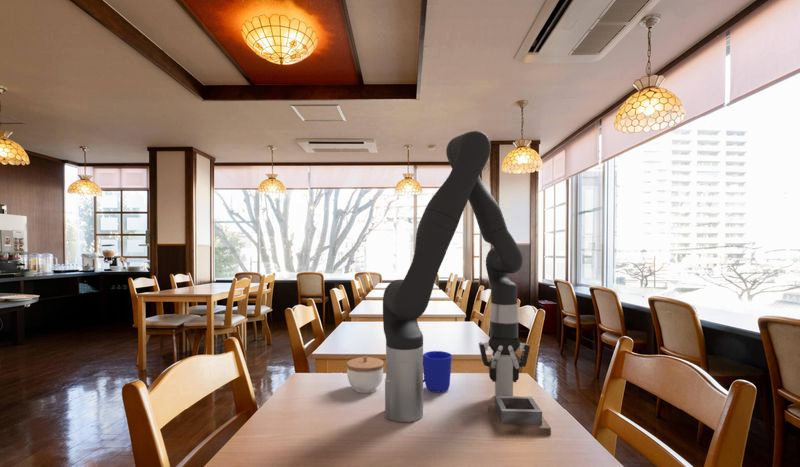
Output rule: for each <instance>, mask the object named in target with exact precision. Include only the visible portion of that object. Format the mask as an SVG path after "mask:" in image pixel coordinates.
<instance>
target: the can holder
mask: <svg viewBox="0 0 800 467" xmlns="http://www.w3.org/2000/svg"><path fill="white" fill-rule="evenodd" d="M487 412H488V416H489V418H490V420H491V421H490V422H491V423H492V425H493V428H494V430H495V434H496V435H532V436H534V435H535V436H536V435H539V436H541V435H542V436H551V435H552V428H551V427H550V425H549V423H548V422H547V421H546V419H545V417H544V416H543V411H542V410H541V408H540V407H539V405H538V404H537V402H536V401H535V399H534V398H533V396H517V395H515V396H514V395H513V396H496V395H494V405H487Z"/></svg>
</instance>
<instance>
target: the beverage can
mask: <svg viewBox="0 0 800 467" xmlns="http://www.w3.org/2000/svg"><path fill="white" fill-rule="evenodd" d="M496 357H497V356H496ZM494 396H514V382H513V361H512V358H511V355H500V356H499V359H498V361H497V362H496V365H495V382H494Z"/></svg>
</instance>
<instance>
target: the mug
mask: <svg viewBox="0 0 800 467" xmlns="http://www.w3.org/2000/svg"><path fill="white" fill-rule="evenodd" d="M452 357H453V356H452V353H449V352H446V351H441V350H433V351H432V350H431V351H430V350H429V351H426V352H423V383H425V384H424V385H425V388H426V389H427V390H428V391H429V392H432V393H444V392H446V391H449V388H450V385H451V374H452V373H451V371H452V360H453V358H452Z"/></svg>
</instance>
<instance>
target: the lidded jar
mask: <svg viewBox="0 0 800 467" xmlns="http://www.w3.org/2000/svg"><path fill="white" fill-rule="evenodd" d="M384 363H385V362H384V361H383V360H382V359H381V358H377V357H371V356H370V357H369V356H366V355H364V356H362V357H356V358H352V359H349V360H348V361H347V362H346V374H347V380H348V384H350V386H351V387H352V389H354V391H355V392H357V393H360V394H368V393H369V394H370V393H373V392H375V391H376V389H377V388H378V387H379V386H380V385H381V382H382V380H383V377H384V365H385V364H384Z"/></svg>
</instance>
